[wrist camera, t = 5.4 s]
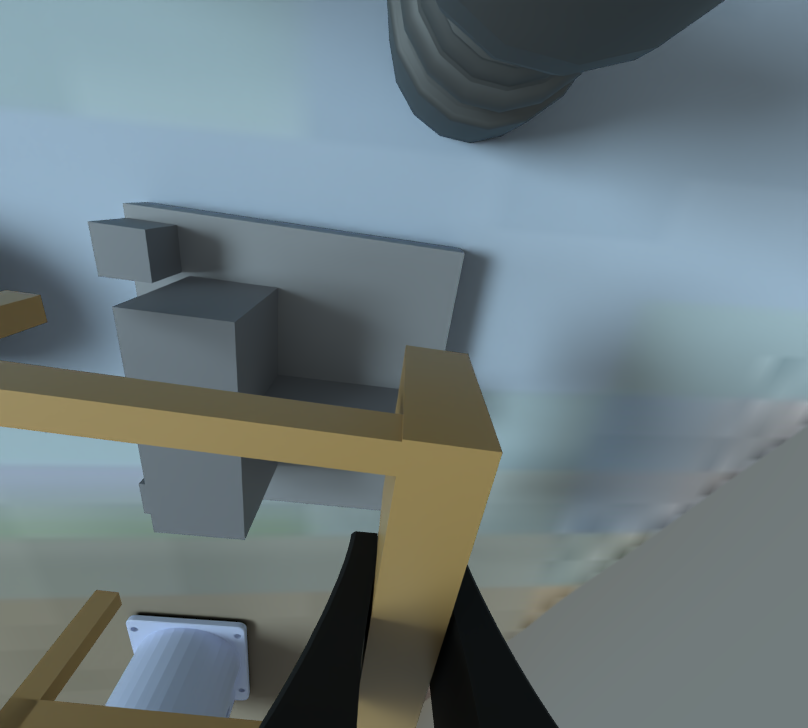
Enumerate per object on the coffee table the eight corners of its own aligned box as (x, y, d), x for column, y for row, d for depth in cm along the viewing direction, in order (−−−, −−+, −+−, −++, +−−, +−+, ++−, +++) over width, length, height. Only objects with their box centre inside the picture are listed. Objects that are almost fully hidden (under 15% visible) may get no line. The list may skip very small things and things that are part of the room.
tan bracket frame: (467, 353, 10) (502, 452, 6) (401, 635, 15) (398, 783, 11) (5, 288, 9) (-266, 351, 5) (100, 602, 14) (-9, 746, 10)
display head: (459, 248, 16) (490, 275, 11) (411, 493, 22) (415, 592, 17) (147, 202, 15) (8, 207, 10) (182, 471, 21) (107, 568, 16)
